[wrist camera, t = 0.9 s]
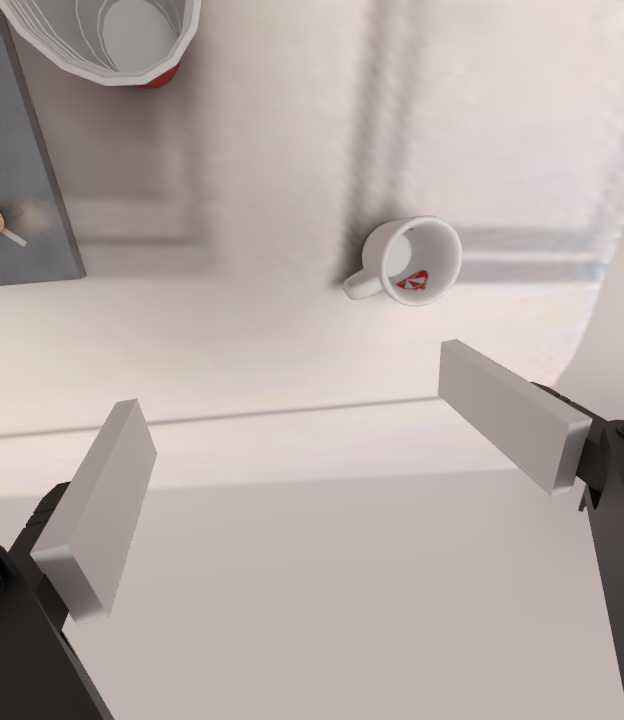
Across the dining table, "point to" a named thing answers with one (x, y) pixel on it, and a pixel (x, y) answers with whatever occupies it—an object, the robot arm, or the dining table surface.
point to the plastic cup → (109, 36)
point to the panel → (29, 188)
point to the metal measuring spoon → (1, 223)
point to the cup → (408, 261)
